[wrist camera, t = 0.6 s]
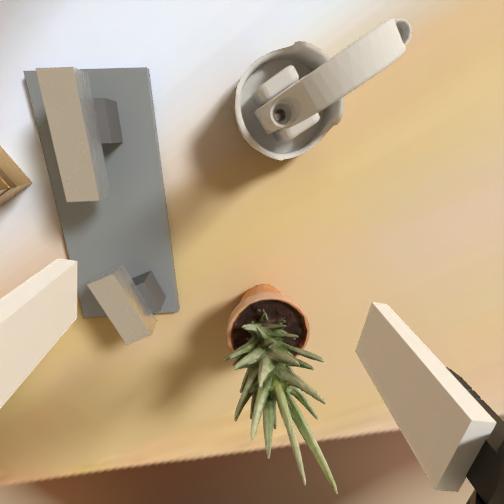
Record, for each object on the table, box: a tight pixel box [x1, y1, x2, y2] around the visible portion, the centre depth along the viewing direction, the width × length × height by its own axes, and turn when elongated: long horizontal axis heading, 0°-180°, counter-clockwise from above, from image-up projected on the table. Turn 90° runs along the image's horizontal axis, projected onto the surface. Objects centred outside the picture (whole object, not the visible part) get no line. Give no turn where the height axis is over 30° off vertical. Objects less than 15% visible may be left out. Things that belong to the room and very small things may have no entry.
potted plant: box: [222, 284, 338, 494], centre depth 32 cm, size 10×10×25 cm
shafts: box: [36, 67, 157, 345], centre depth 32 cm, size 27×6×3 cm, turn 2°
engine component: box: [235, 18, 412, 160], centre depth 26 cm, size 11×20×10 cm
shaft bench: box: [24, 67, 179, 318], centre depth 36 cm, size 28×12×4 cm, turn 2°
